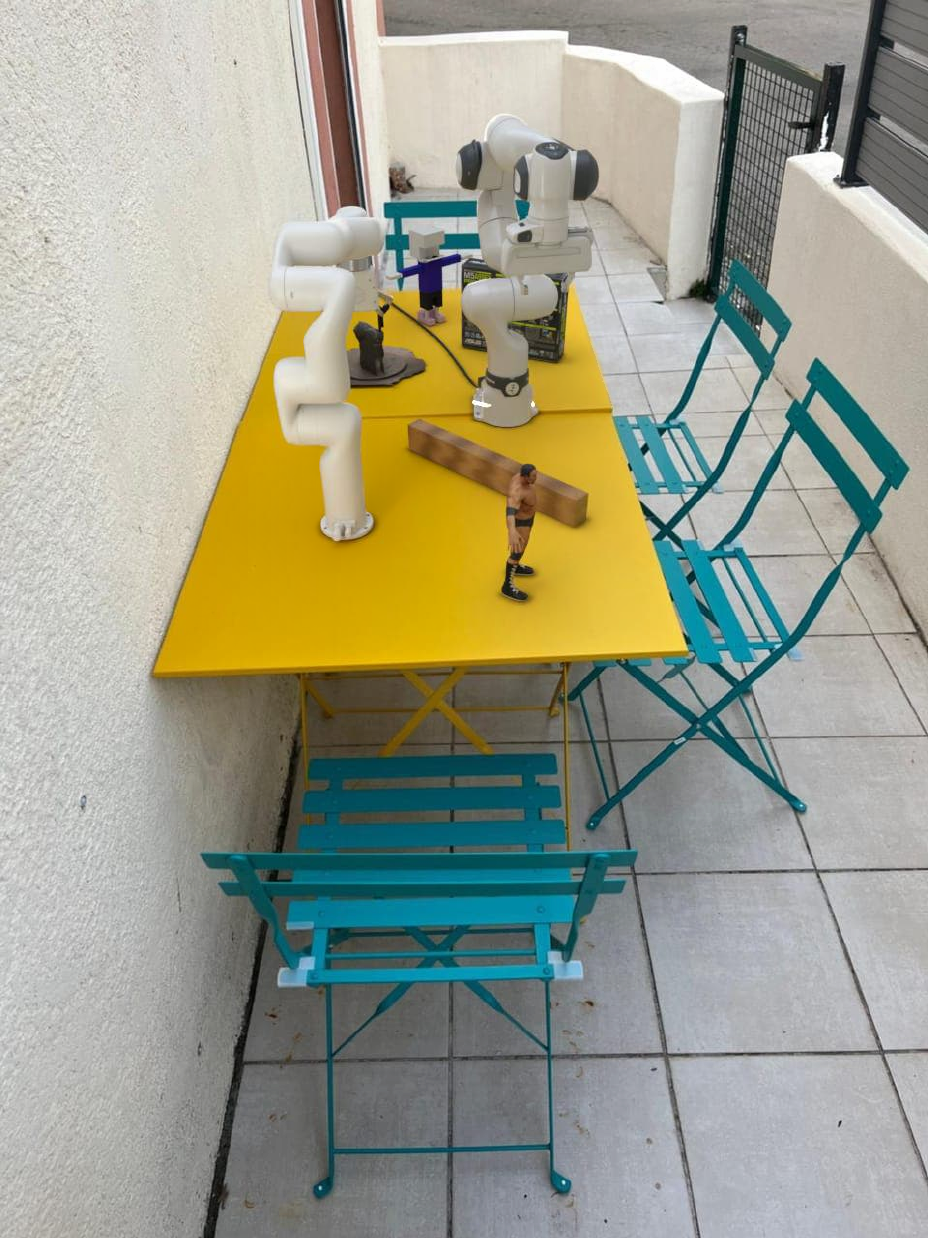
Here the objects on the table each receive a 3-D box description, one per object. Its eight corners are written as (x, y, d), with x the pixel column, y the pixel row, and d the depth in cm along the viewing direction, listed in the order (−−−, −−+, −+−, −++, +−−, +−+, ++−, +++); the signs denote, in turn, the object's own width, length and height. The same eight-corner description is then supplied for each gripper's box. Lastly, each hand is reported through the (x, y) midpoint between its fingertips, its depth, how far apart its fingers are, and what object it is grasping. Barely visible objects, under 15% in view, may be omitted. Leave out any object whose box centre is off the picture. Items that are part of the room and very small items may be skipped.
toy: (460, 304, 319) (459, 216, 299) (477, 312, 313) (477, 222, 294) (381, 329, 302) (375, 237, 283) (398, 337, 296) (393, 244, 277)
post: (408, 449, 240) (407, 424, 235) (420, 443, 242) (419, 418, 237) (574, 527, 211) (576, 500, 206) (585, 519, 213) (588, 492, 208)
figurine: (524, 621, 184) (530, 498, 165) (494, 617, 185) (497, 494, 166) (540, 553, 202) (547, 435, 183) (512, 550, 203) (516, 432, 184)
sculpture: (406, 397, 263) (403, 345, 252) (297, 384, 270) (290, 333, 259) (437, 352, 287) (436, 303, 277) (336, 341, 294) (331, 293, 284)
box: (565, 354, 285) (571, 269, 268) (558, 363, 280) (563, 277, 263) (468, 339, 295) (468, 256, 278) (460, 347, 290) (459, 264, 272)
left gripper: (318, 269, 212) (326, 338, 223) (391, 266, 213) (395, 335, 224) (320, 258, 218) (327, 326, 229) (390, 255, 219) (394, 323, 230)
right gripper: (590, 221, 195) (585, 284, 204) (499, 226, 192) (498, 290, 201) (598, 229, 190) (592, 294, 199) (505, 235, 188) (503, 300, 196)
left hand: (361, 330), depth 226 cm, fingers open, 9 cm apart
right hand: (544, 292), depth 200 cm, fingers open, 8 cm apart
